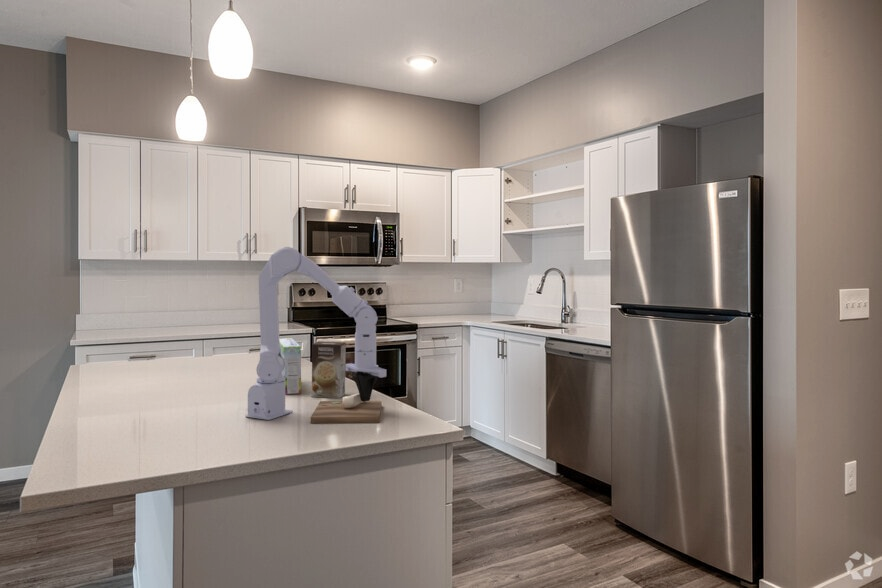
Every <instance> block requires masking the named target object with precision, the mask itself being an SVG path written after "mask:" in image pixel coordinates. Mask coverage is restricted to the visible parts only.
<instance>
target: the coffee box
mask: <svg viewBox="0 0 882 588" xmlns="http://www.w3.org/2000/svg"><path fill="white" fill-rule="evenodd" d="M346 346H347V345H346V342H340V341H339V342H338V341H337V342H336V341H317V342H314V343H312V345H311V395H310V396H311V398H328V399H331V398H332V399H340V398H343V397H344V395H346V360H347V359H346V353H347V352H346V351H347V350H346V349H347V348H346Z"/></svg>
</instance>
